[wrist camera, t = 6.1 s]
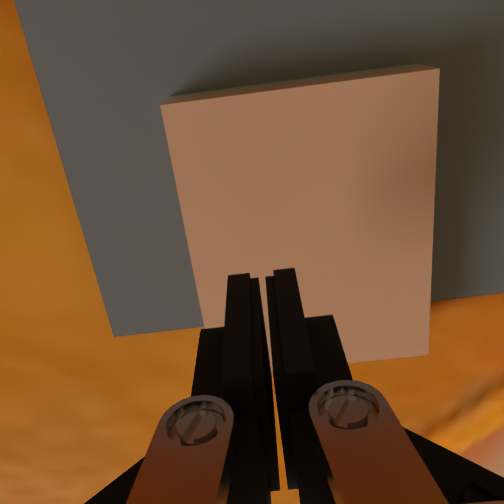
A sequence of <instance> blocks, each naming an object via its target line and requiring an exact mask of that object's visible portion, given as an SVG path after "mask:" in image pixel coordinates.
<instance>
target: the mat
mask: <svg viewBox="0 0 504 504" xmlns="http://www.w3.org/2000/svg"><path fill="white" fill-rule="evenodd" d="M14 2H15V5H16V9H17V12H18V16H19V19H20V22H21V26H22V29H23V32H24V36H25V39H26V42H27V46H28V49H29V52H30V56H31V59H32V63H33V66H34V69H35V73H36V76H37V79H38V83H39V86H40V89H41V93H42V96H43V100H44V103H45V106H46V110H47V113H48V116H49V120H50V123H51V126H52V130H53V133H54V137H55V140H56V143H57V147H58V150H59V153H60V157H61V160H62V163H63V167H64V170H65V174H66V177H67V180H68V184H69V187H70V190H71V194H72V197H73V200H74V204H75V207H76V211H77V214H78V217H79V221H80V224H81V227H82V231H83V234H84V237H85V241H86V244H87V247H88V251H89V254H90V258H91V261H92V264H93V268H94V271H95V274H96V278H97V281H98V284H99V288H100V291H101V295H102V298H103V301H104V305H105V308H106V311H107V315H108V318H109V321H110V325H111V328H112V332H113V335H114V337H116V336H125V335H134V334H143V333H152V332H161V331H170V330H179V329H188V328H197V327H204V323H203V318H202V313H201V308H200V303H199V298H198V293H197V288H196V283H195V278H194V273H193V268H192V263H191V258H190V253H189V248H188V243H187V238H186V233H185V228H184V223H183V218H182V213H181V208H180V203H179V197H178V192H177V187H176V182H175V177H174V172H173V167H172V162H171V157H170V152H169V147H168V142H167V137H166V132H165V127H164V122H163V117H162V112H161V107H160V105H161V104H162V103H163V102H164V101H165V100H166V99H167V98H168V97H169V96H173V95H180V94H188V93H196V92H203V91H211V90H218V89H226V88H233V87H241V86H249V85H256V84H264V83H271V82H279V81H287V80H294V79H302V78H309V77H317V76H324V75H332V74H340V73H347V72H355V71H362V70H370V69H377V68H385V67H393V66H400V65H408V64H415V63H418V64H422V65H427V66H431V67H435V68H440V76H439V101H438V126H437V151H436V176H435V201H434V226H433V251H432V276H431V301H438V300H447V299H456V298H465V297H474V296H483V295H492V294H501V293H504V0H14Z"/></svg>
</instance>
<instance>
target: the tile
mask: <svg viewBox="0 0 504 504" xmlns="http://www.w3.org/2000/svg"><path fill="white" fill-rule="evenodd" d="M439 76H440V68H435V67H431V66H427V65H422V64H418V63H415V64H408V65H400V66H393V67H385V68H377V69H370V70H362V71H355V72H347V73H340V74H332V75H324V76H317V77H309V78H302V79H294V80H287V81H279V82H271V83H264V84H256V85H249V86H241V87H233V88H226V89H218V90H211V91H203V92H196V93H188V94H180V95H173V96H169V97H168V98H167V99H166V100H165V101H164V102H163V103H162V104H161V105H160V107H161V112H162V117H163V122H164V127H165V132H166V137H167V142H168V147H169V152H170V157H171V162H172V167H173V172H174V177H175V182H176V187H177V192H178V197H179V203H180V208H181V213H182V218H183V223H184V228H185V233H186V238H187V243H188V248H189V253H190V258H191V263H192V268H193V273H194V278H195V283H196V288H197V293H198V298H199V303H200V308H201V313H202V318H203V323H204V328H205V329H207V328H216V327H224V323H225V308H226V294H227V279H228V275H234V274H243V273H250V278H257V277H258V278H259V284H260V292H261V299H262V307H263V314H264V321H265V329H266V336H267V344H268V351H269V359H270V367H271V372H272V371H273V367H272V355H271V342H270V330H269V318H268V305H267V293H266V280H265V277H266V276H274V274H273V270H277V269H286V268H295V272H296V277H297V282H298V287H299V292H300V297H301V302H302V307H303V312H304V317H305V318H306V317H315V316H324V315H333V317H334V320H335V323H336V326H337V330H338V333H339V336H340V340H341V343H342V346H343V350H344V353H345V356H346V359H347V363H356V362H365V361H375V360H384V359H393V358H403V357H412V356H421V355H428V351H429V326H430V301H431V276H432V251H433V226H434V201H435V176H436V151H437V126H438V101H439Z"/></svg>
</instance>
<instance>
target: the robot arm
mask: <svg viewBox="0 0 504 504" xmlns="http://www.w3.org/2000/svg"><path fill="white" fill-rule="evenodd" d="M273 274H274V276H266V277H265V280H266V293H267V305H268V318H269V330H270V342H271V355H272V367H273V377H274V386H275V394H276V401H277V409H278V416H279V424H280V431H281V439H282V446H283V454H284V462H285V469H286V477H287V484H288V490H289V489H299V497H300V504H504V478H503V477H501V476H499V475H497V474H495V473H493V472H491V471H489V470H487V469H485V468H483V467H481V466H479V465H477V464H475V463H473V462H471V461H469V460H467V459H465V458H463V457H461V456H459V455H457V454H455V453H453V452H451V451H449V450H447V449H445V448H444V447H442V446H440V445H438V444H436V443H434V442H432V441H430V440H428V439H426V438H424V437H422V436H420V435H418V434H416V433H414V432H412V431H410V430H408V429H406V428H404V427H402V425H401V424H400V422H399V420H398V419H397V417H396V415H395V414H394V412H393V411H392V409H391V407H390V406H389V404H388V402H387V401H386V399H385V398H384V396H383V395H382V394H381V393H380V392H379V391H378V390H377V389H375V388H374V387H372V386H370V385H369V384H366V383H363V382H360V381H353V379H352V376H351V373H350V369H349V366H348V363H347V359H346V356H345V353H344V350H343V346H342V343H341V340H340V336H339V333H338V330H337V326H336V323H335V320H334V317H333V315H324V316H315V317H306V318H305V317H304V312H303V307H302V302H301V297H300V292H299V287H298V282H297V277H296V272H295V268H286V269H277V270H273ZM279 490H280V482H279V469H278V455H277V442H276V429H275V416H274V402H273V389H272V376H271V367H270V359H269V351H268V344H267V336H266V329H265V321H264V314H263V307H262V299H261V292H260V284H259V278H258V277H257V278H250V273H243V274H234V275H228V279H227V294H226V308H225V323H224V327H216V328H207V329H202V330H201V332H200V337H199V344H198V351H197V358H196V365H195V372H194V379H193V385H192V392H191V397H189V398H186V399H183V400H181V401H179V402H177V403H176V404H174V405H172V406H171V407H170V408H169V409H168V410H167V411H166V412H165V413H164V414H163V416H162V418H161V419H160V421H159V423H158V426H157V428H156V430H155V433H154V435H153V438H152V440H151V443H150V445H149V448H148V450H147V453H146V455H145V457H144V458H142V459H141V460H140V461H138V462H137V463H136V464H135V465H133V466H132V467H131V468H129V469H128V470H127V471H126V472H124V473H123V474H122V475H120V476H119V477H118V478H117V479H115V480H114V481H113V482H111V483H110V484H109V485H108V486H106V487H105V488H104V489H102V490H101V491H100V492H99V493H97V494H96V495H95V496H93V497H92V498H91V499H90V500H88V501H87V502H86V503H84V504H271V492H270V491H279Z"/></svg>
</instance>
